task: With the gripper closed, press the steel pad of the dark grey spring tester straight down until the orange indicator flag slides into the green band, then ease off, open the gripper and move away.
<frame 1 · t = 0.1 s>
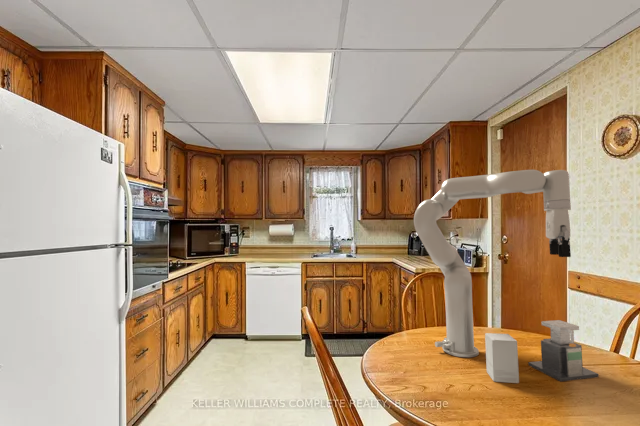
hand: (559, 255, 112), 37 cm above the table, tool pointing down, fingers open, 9 cm apart
indicator: (572, 345, 101), point 10 cm above the table, slide at 0.0 cm
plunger: (563, 339, 105), point 11 cm above the table, slide at 0.0 cm
tester: (562, 370, 106), on the table
supplement box: (502, 378, 102), on the table
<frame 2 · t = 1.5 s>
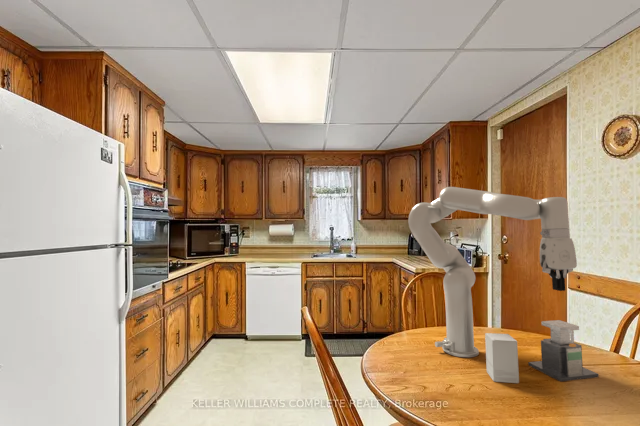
hand: (558, 289, 107), 26 cm above the table, tool pointing down, fingers closed
nothing on the table moved.
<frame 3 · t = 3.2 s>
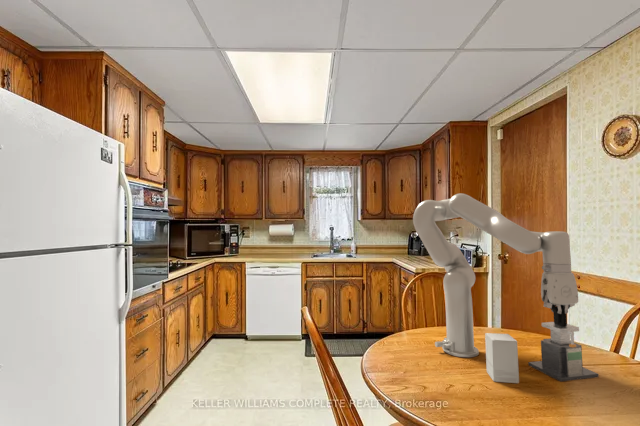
hand: (560, 324, 107), 15 cm above the table, tool pointing down, fingers closed
indicator: (572, 345, 101), point 10 cm above the table, slide at 0.1 cm, touching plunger
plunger: (563, 340, 105), point 10 cm above the table, slide at 0.4 cm, touching gripper, indicator
everything else where it was.
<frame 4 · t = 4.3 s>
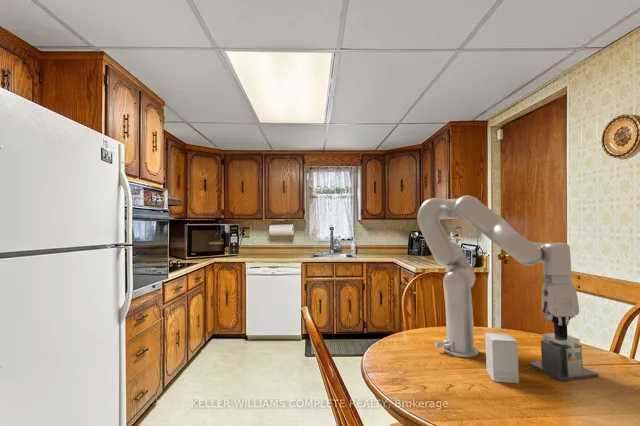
hand: (561, 336, 107), 11 cm above the table, tool pointing down, fingers closed
indicator: (573, 357, 101), point 6 cm above the table, slide at 3.9 cm, touching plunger
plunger: (564, 352, 105), point 6 cm above the table, slide at 4.2 cm, touching gripper, indicator
everything else where it was.
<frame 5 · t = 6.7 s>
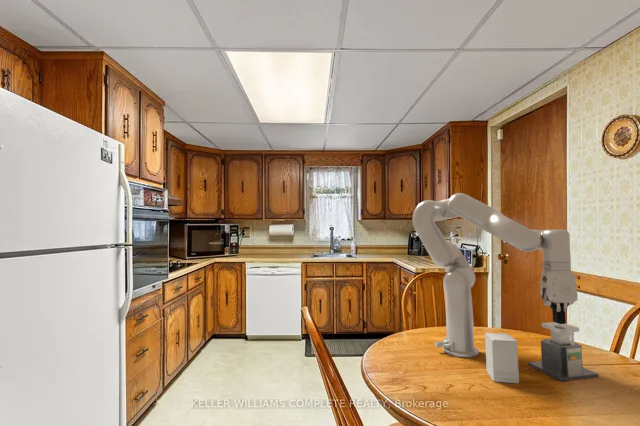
hand: (559, 322, 107), 15 cm above the table, tool pointing down, fingers closed
indicator: (573, 358, 101), point 6 cm above the table, slide at 3.9 cm
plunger: (563, 340, 105), point 10 cm above the table, slide at 0.5 cm
everything else where it was.
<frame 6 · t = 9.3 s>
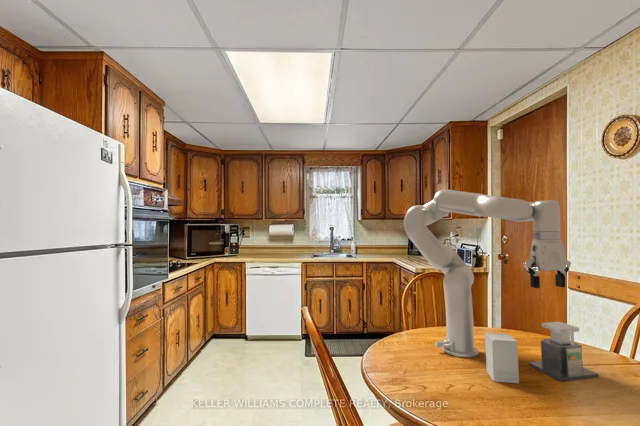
hand: (547, 287, 110), 27 cm above the table, tool pointing down, fingers open, 9 cm apart
nothing on the table moved.
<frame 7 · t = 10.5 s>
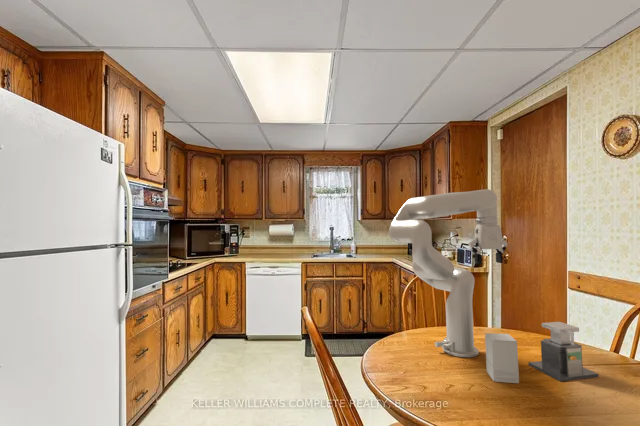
hand: (488, 263, 134), 32 cm above the table, tool pointing down, fingers open, 9 cm apart
nothing on the table moved.
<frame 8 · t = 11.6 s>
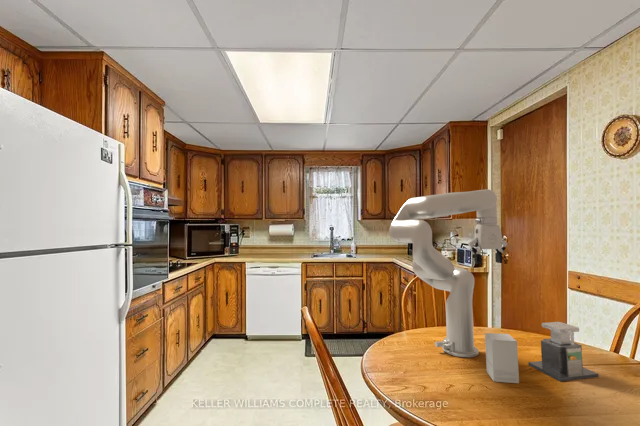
hand: (488, 263, 135), 32 cm above the table, tool pointing down, fingers open, 9 cm apart
nothing on the table moved.
at the end: indicator slide at 3.9 cm; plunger slide at 0.5 cm; supplement box moved 0.2 cm from its start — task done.
